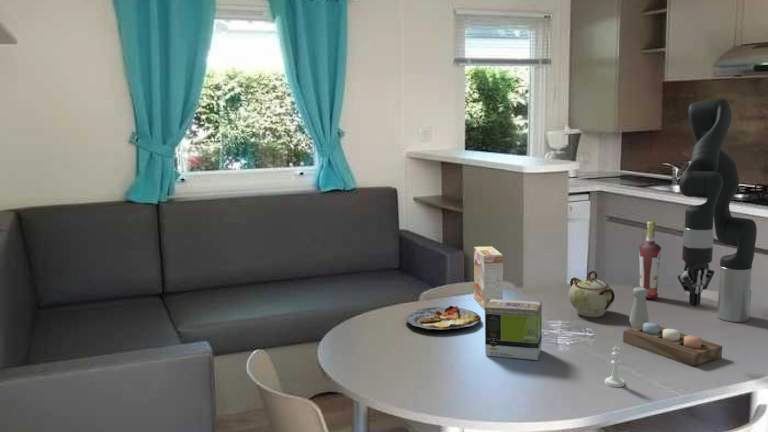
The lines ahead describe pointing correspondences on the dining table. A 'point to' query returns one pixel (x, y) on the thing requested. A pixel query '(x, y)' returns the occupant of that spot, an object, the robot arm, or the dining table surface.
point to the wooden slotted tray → (673, 347)
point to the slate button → (651, 328)
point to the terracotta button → (692, 342)
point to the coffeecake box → (487, 275)
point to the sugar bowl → (590, 296)
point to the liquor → (649, 263)
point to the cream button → (671, 335)
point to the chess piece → (615, 371)
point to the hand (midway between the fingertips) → (694, 305)
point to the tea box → (513, 328)
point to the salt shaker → (639, 308)
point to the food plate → (442, 318)
